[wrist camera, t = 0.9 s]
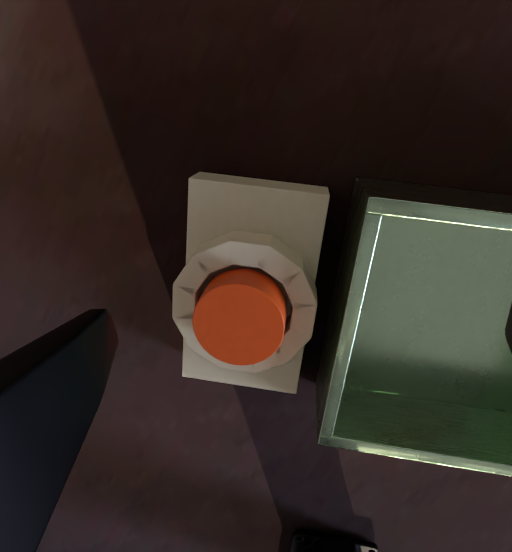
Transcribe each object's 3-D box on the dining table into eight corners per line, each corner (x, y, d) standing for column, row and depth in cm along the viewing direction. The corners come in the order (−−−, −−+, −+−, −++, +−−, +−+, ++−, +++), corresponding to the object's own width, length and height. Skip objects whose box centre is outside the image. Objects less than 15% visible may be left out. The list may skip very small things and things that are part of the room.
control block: (299, 372, 26) (298, 415, 23) (188, 356, 27) (170, 395, 23) (330, 187, 22) (335, 203, 18) (196, 171, 22) (174, 183, 18)
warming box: (527, 417, 26) (578, 488, 21) (315, 384, 27) (317, 445, 22) (624, 208, 20) (721, 238, 16) (355, 176, 21) (368, 196, 17)
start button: (281, 350, 22) (278, 372, 20) (199, 338, 22) (190, 358, 20) (291, 274, 20) (290, 290, 18) (203, 262, 20) (193, 277, 18)
